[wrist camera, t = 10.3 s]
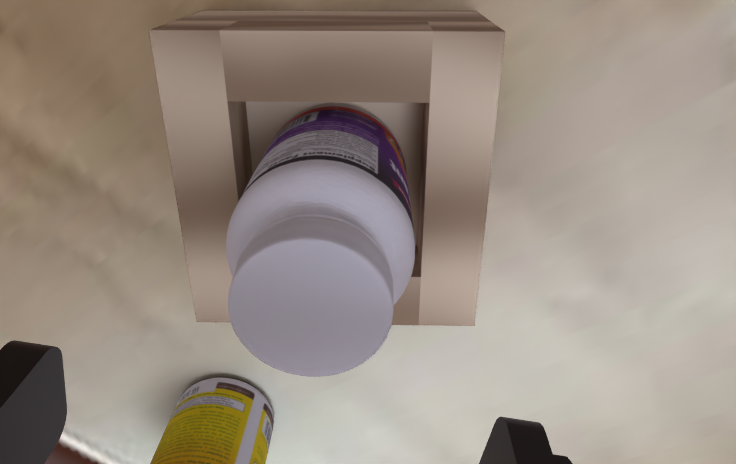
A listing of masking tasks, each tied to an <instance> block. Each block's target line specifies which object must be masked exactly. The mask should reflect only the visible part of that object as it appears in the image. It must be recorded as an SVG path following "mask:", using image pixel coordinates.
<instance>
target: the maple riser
mask: <svg viewBox="0 0 736 464" xmlns="http://www.w3.org/2000/svg"><path fill="white" fill-rule="evenodd" d="M149 34H150V40H151V46H152V52H153V58H154V64H155V70H156V77H157V83H158V89H159V95H160V101H161V107H162V113H163V119H164V125H165V131H166V138H167V144H168V150H169V156H170V162H171V168H172V174H173V180H174V186H175V193H176V199H177V205H178V211H179V217H180V223H181V229H182V235H183V241H184V248H185V254H186V260H187V266H188V272H189V278H190V284H191V290H192V296H193V302H194V309H195V315H196V321H197V322H231V321H230V317H229V312H228V293H229V289H230V285H231V282H232V279H233V277H232V274H231V272H230V268H229V264H228V259H227V252H226V238H227V231H228V226H229V222H230V219H231V217H232V214H233V212H234V210H235V207H236V205H237V203H238V201H239V199H240V197H241V195H242V194H243V192H244V190H245V189H246V187H247V185H248V183H249V181H250V179H251V178H252V176H253V174H254V172H255V170H256V169H257V167H258V165H259V163H260V161H261V160H262V158H263V156H264V154H265V152H266V150H267V148H268V147H269V145H270V144H271V142H272V140H273V138H274V137H275V135H276V134H277V133H278V132H279V130H280V129H281V128H282V127H283V125H284V124H285V123H286V122H288V121H289V120H290V119H291V118H292V117H294V116H295V115H297V114H299V113H300V112H302V111H304V110H307V109H309V108H312V107H315V106H319V105H326V104H343V105H349V106H353V107H357V108H359V109H362V110H364V111H367V112H369V113H370V114H372V115H374V116H375V117H377V118H378V119H379V120H381V121H382V122H383V123H384V124H385V125H386V126H387V127H388V128H389V129H390V131H391V132H392V133H393V135H394V136H395V137H396V139H397V141H398V143H399V145H400V147H401V150H402V153H403V156H404V160H405V164H406V171H407V181H408V188H409V196H410V205H411V212H412V220H413V228H414V236H415V261H414V267H413V271H412V275H411V278H410V281H409V283H408V285H407V287H406V289H405V291H404V293H403V294H402V296H401V297H400V298H399V300H398V301H397V302H396V303H395V304H394V305H393V310H394V311H393V319H392V324H391V325H444V326H475V317H476V308H477V298H478V289H479V279H480V269H481V260H482V250H483V241H484V231H485V222H486V212H487V202H488V193H489V183H490V174H491V164H492V154H493V145H494V135H495V126H496V116H497V106H498V97H499V87H500V78H501V68H502V58H503V49H504V39H505V31H504V30H502V29H501V28H499V27H498V26H497V25H495V24H494V23H492V22H491V21H489V20H488V19H487V18H485V17H484V16H482V15H481V14H480V13H478V12H477V11H217V10H203V11H201V12H198V13H195V14H192V15H190V16H187V17H184V18H181V19H178V20H176V21H173V22H170V23H167V24H165V25H162V26H159V27H156V28H154V29H151V30H149Z"/></svg>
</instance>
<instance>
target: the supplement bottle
mask: <svg viewBox="0 0 736 464" xmlns="http://www.w3.org/2000/svg"><path fill="white" fill-rule="evenodd" d="M273 424H274V417H273V412H272V409H271V406H270V404H269V402H268V401H267V399H266V398H265V397H264V396H263V395H262V394H261V393H260V392H259V391H258V390H257V389H255V388H254V387H252V386H251V385H249V384H247V383H245V382H242V381H239V380H236V379H231V378H211V379H206V380H203V381H200V382H198V383H196V384H194V385H192V386H191V387H189V388H188V389H187V390H186V391H185V392H184V393H183V394H182V396H181V397H180V399H179V401H178V403H177V405H176V407H175V409H174V412H173V414H172V416H171V418H170V421H169V423H168V425H167V427H166V430H165V432H164V434H163V436H162V439H161V441H160V443H159V445H158V448H157V450H156V452H155V454H154V457H153V459H152V461H151V463H150V464H265V462H266V458H267V453H268V448H269V444H270V440H271V435H272V430H273Z"/></svg>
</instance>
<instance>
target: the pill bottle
mask: <svg viewBox="0 0 736 464" xmlns="http://www.w3.org/2000/svg"><path fill="white" fill-rule="evenodd" d="M226 252H227V259H228V264H229V268H230V272H231V274H232V277H233V279H232V282H231V285H230V289H229V293H228V312H229V317H230V321H231V324H232V327H233V329H234V331H235V333H236V335H237V336H238V338H239V339H240V341H241V342H242V343H243V345H244V346H245V347H246V348H247V349H248V350H249V351H250V352H251V353H252V354H253V355H254V356H256V357H257V358H258V359H260V360H261V361H263V362H264V363H266V364H268V365H270V366H272V367H274V368H276V369H278V370H281V371H284V372H287V373H291V374H296V375H301V376H314V377H318V376H329V375H334V374H338V373H342V372H345V371H348V370H350V369H352V368H354V367H356V366H358V365H360V364H362V363H363V362H365V361H366V360H368V359H369V358H370V357H371V356H372V355H374V354H375V353H376V352H377V350H378V349H379V348H380V347H381V345H382V344H383V342H384V341H385V339H386V338H387V335H388V332H389V330H390V327H391V324H392V319H393V311H394V310H393V305H394V304H395V303H396V302H397V301H398V300H399V298H400V297H401V296H402V294H403V293H404V291H405V289H406V287H407V285H408V283H409V281H410V278H411V275H412V271H413V267H414V261H415V236H414V228H413V220H412V212H411V205H410V196H409V188H408V181H407V171H406V164H405V160H404V156H403V153H402V150H401V147H400V145H399V143H398V141H397V139H396V137H395V136H394V135H393V133H392V132H391V131H390V129H389V128H388V127H387V126H386V125H385V124H384V123H383V122H382V121H381V120H379V119H378V118H377V117H375V116H374V115H372V114H370V113H369V112H367V111H364V110H362V109H359V108H357V107H353V106H349V105H343V104H326V105H319V106H315V107H312V108H309V109H307V110H304V111H302V112H300V113H299V114H297V115H295V116H294V117H292V118H291V119H290V120H289V121H288V122H286V123H285V124H284V125H283V127H282V128H281V129H280V130H279V132H278V133H277V134H276V135H275V137H274V138H273V140H272V142H271V144H270V145H269V147H268V148H267V150H266V152H265V154H264V156H263V158H262V160H261V161H260V163H259V165H258V167H257V169H256V170H255V172H254V174H253V176H252V178H251V179H250V181H249V183H248V185H247V187H246V189H245V190H244V192H243V194H242V195H241V197H240V199H239V201H238V203H237V205H236V207H235V210H234V212H233V214H232V217H231V219H230V222H229V226H228V231H227V238H226Z"/></svg>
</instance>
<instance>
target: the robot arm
mask: <svg viewBox="0 0 736 464" xmlns="http://www.w3.org/2000/svg"><path fill="white" fill-rule="evenodd" d="M66 415H67V404H66V393H65V381H64V370H63V359H62V353H61V350H60V349H59V348H58V347H54V346H47V345H41V344H34V343H28V342H21V341H11V342H9V343H7V344H6V345H5V346H4V347H3V348H2V349H1V350H0V464H44V463H45V462H46V460H47V458H48V457H49V456H50V454H51V452H52V451H53V449H54V448H55V446H56V444H57V443H58V441H59V439H60V436H61V434H62V431H63V428H64V425H65V421H66ZM479 464H572V462H571V461H570V460H569V459H568V457H566V456H559V455H553V454H552V451H551V448H550V445H549V441H548V438H547V435H546V432H545V430H544V427H543V426H542V425H541V424H540V423H538V422H532V421H525V420H519V419H512V418H506V417H499V418H498V419H497V420H496V422H495V424H494V427H493V429H492V432H491V434H490V437H489V439H488V442H487V445H486V447H485V450H484V452H483V455H482V457H481V460H480V463H479Z"/></svg>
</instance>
